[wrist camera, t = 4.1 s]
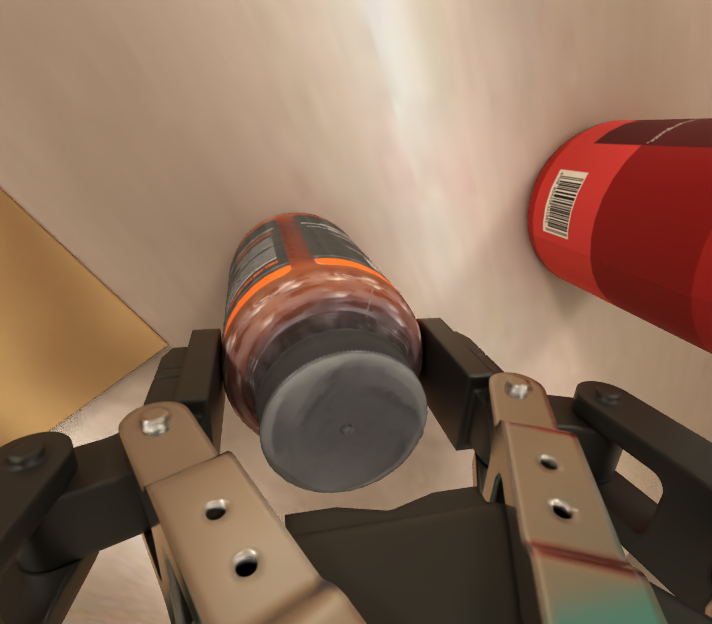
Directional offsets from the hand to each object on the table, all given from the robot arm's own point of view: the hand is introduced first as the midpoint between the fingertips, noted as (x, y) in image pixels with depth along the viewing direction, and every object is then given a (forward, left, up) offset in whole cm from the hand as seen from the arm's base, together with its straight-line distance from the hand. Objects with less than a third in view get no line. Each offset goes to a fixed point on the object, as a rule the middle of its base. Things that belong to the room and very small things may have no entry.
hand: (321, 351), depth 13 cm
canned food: (+14, -6, -8) cm, 17 cm away
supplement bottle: (0, 0, -8) cm, 8 cm away
